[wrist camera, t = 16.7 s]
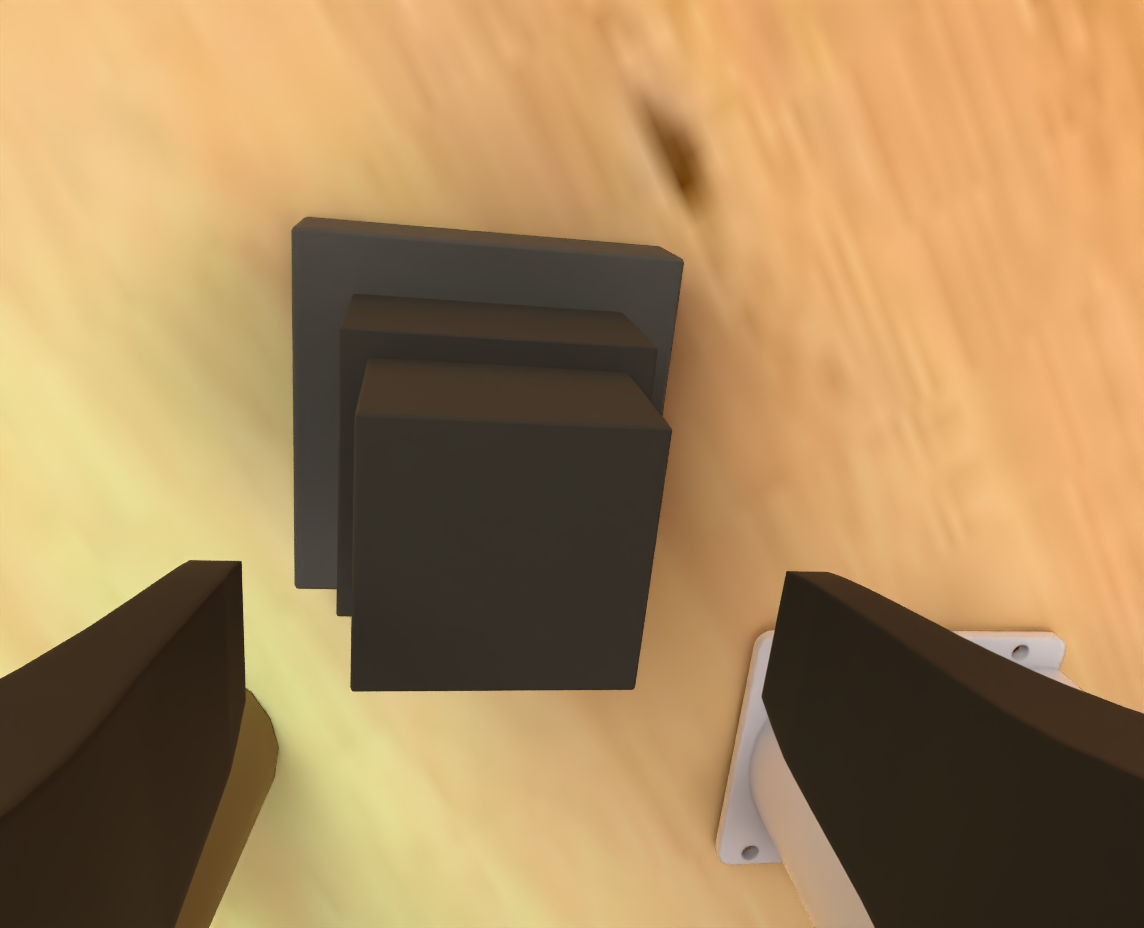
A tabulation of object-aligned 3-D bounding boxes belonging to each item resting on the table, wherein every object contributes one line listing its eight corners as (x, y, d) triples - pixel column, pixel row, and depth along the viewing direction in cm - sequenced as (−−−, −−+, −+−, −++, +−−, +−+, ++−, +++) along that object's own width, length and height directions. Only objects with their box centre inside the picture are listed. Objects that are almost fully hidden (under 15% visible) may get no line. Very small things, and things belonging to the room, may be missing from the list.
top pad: (628, 371, 16) (673, 428, 13) (600, 596, 18) (636, 691, 15) (368, 356, 15) (354, 413, 12) (362, 593, 17) (350, 693, 14)
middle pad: (622, 312, 19) (659, 347, 16) (594, 548, 21) (622, 619, 18) (352, 293, 18) (338, 327, 15) (349, 543, 20) (336, 616, 17)
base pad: (661, 246, 21) (685, 258, 19) (621, 557, 24) (638, 595, 22) (303, 216, 19) (290, 226, 17) (304, 550, 22) (294, 590, 20)
